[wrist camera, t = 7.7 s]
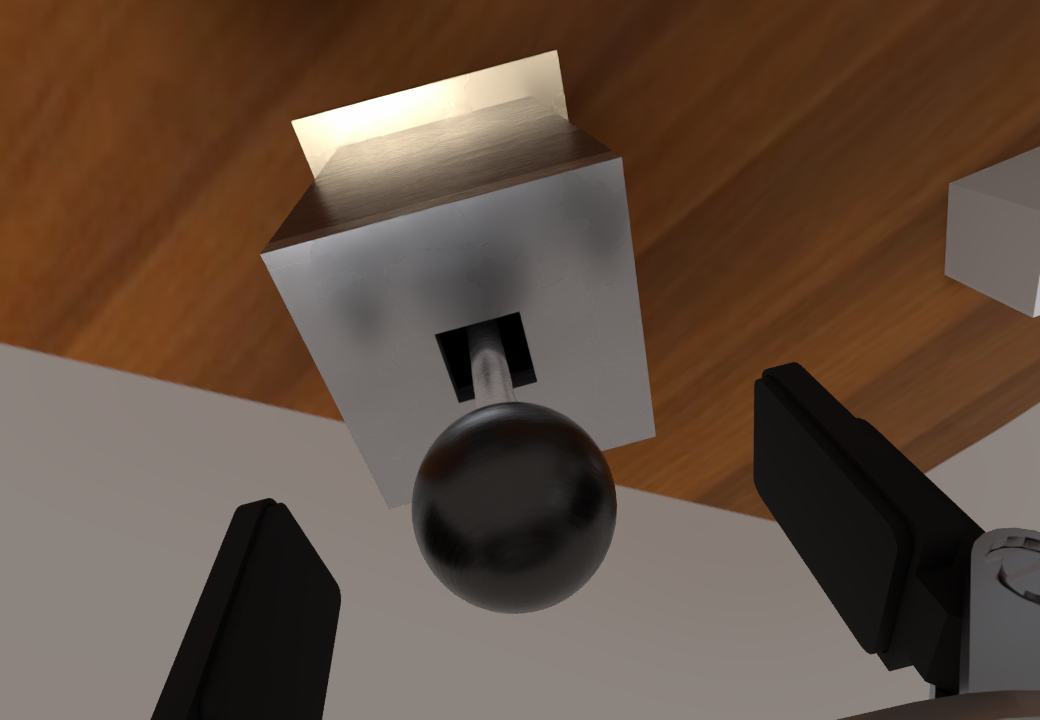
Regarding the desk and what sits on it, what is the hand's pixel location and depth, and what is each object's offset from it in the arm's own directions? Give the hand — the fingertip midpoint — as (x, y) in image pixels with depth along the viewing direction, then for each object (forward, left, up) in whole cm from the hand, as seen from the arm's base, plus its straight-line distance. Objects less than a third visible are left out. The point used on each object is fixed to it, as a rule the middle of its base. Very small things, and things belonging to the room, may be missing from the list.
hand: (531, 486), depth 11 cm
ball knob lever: (0, 0, -15) cm, 15 cm away
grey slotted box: (0, 0, -20) cm, 20 cm away
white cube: (-30, +8, -20) cm, 37 cm away
